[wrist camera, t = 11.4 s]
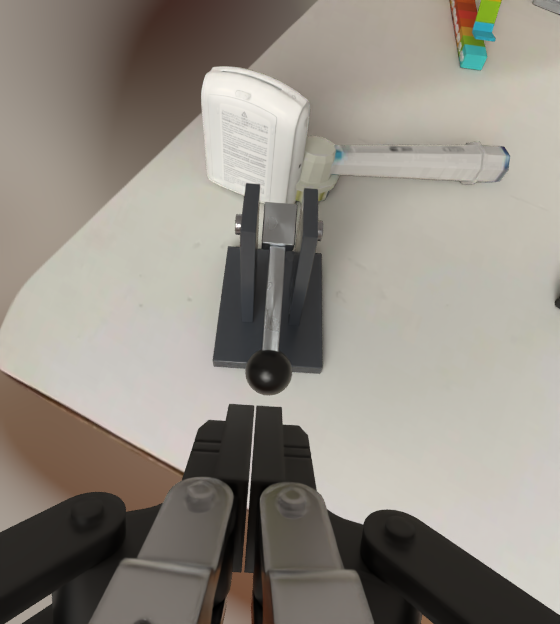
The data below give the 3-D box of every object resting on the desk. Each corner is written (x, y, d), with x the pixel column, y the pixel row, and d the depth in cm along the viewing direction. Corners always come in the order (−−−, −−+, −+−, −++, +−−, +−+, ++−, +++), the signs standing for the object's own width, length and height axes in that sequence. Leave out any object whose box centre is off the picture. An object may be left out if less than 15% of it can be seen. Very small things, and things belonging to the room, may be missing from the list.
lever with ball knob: (289, 393, 32) (291, 400, 29) (244, 390, 32) (242, 397, 29) (301, 215, 32) (305, 203, 29) (257, 212, 32) (257, 199, 29)
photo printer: (304, 191, 48) (321, 81, 37) (288, 216, 46) (301, 109, 35) (221, 159, 50) (214, 46, 39) (201, 182, 48) (189, 70, 37)
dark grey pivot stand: (320, 374, 37) (352, 289, 26) (213, 366, 37) (200, 278, 26) (320, 260, 43) (345, 154, 32) (228, 253, 43) (222, 143, 32)
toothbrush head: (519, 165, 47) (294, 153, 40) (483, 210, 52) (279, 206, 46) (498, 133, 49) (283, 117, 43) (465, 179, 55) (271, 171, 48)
